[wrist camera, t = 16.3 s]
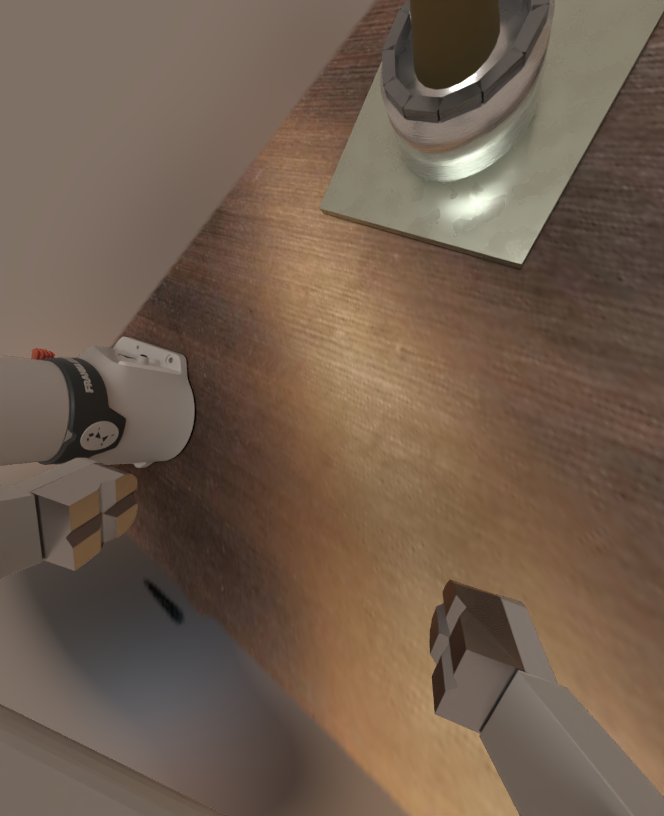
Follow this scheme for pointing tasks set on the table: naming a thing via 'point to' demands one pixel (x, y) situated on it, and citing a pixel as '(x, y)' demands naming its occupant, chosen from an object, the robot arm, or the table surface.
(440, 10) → the cork
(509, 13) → the duct stub
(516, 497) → the table surface
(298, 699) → the table surface
